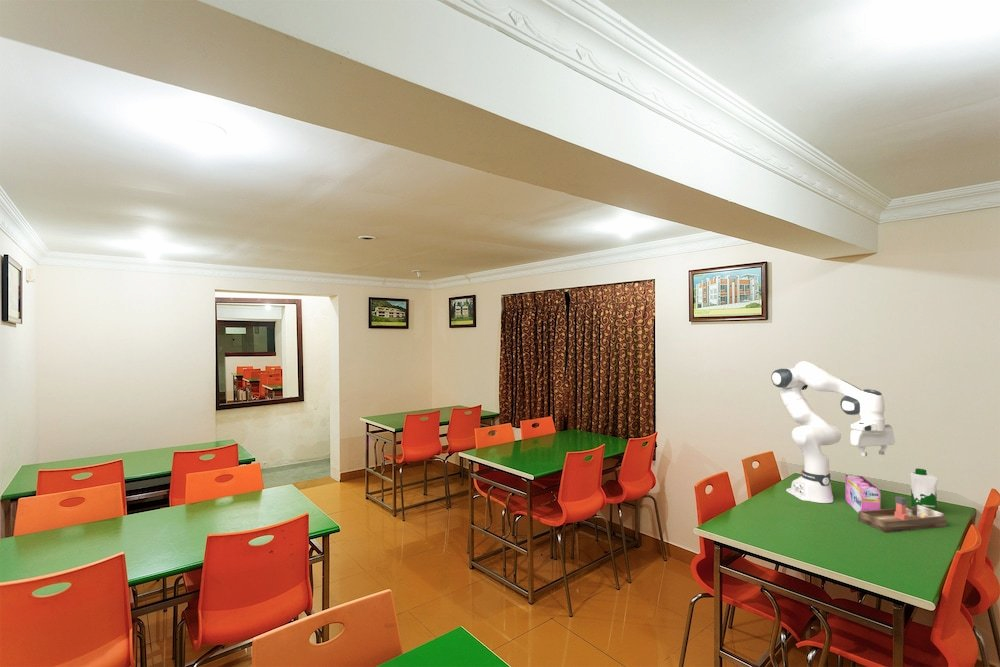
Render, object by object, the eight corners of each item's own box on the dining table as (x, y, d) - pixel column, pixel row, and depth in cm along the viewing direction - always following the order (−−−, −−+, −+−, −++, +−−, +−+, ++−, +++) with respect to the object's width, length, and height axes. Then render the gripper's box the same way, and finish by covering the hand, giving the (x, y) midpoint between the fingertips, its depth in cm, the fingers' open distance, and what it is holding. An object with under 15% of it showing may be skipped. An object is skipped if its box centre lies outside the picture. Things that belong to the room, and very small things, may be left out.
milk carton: (928, 509, 234) (928, 468, 234) (941, 516, 225) (940, 474, 225) (908, 508, 236) (907, 467, 236) (919, 514, 227) (918, 473, 227)
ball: (920, 510, 221) (925, 515, 221) (916, 516, 220) (920, 521, 221) (928, 513, 217) (933, 518, 218) (923, 519, 217) (928, 524, 217)
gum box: (843, 499, 249) (843, 473, 249) (861, 501, 246) (861, 475, 246) (861, 516, 226) (861, 488, 226) (881, 518, 223) (881, 489, 223)
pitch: (858, 521, 221) (858, 509, 221) (916, 515, 226) (916, 504, 226) (885, 532, 208) (885, 520, 208) (946, 526, 213) (946, 514, 213)
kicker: (894, 517, 219) (893, 496, 219) (898, 516, 219) (898, 495, 219) (903, 520, 215) (903, 499, 215) (908, 520, 215) (907, 499, 215)
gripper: (885, 422, 223) (885, 452, 223) (847, 425, 220) (847, 454, 220) (898, 425, 217) (898, 455, 217) (859, 427, 214) (860, 458, 214)
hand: (872, 455), depth 219 cm, fingers open, 8 cm apart
